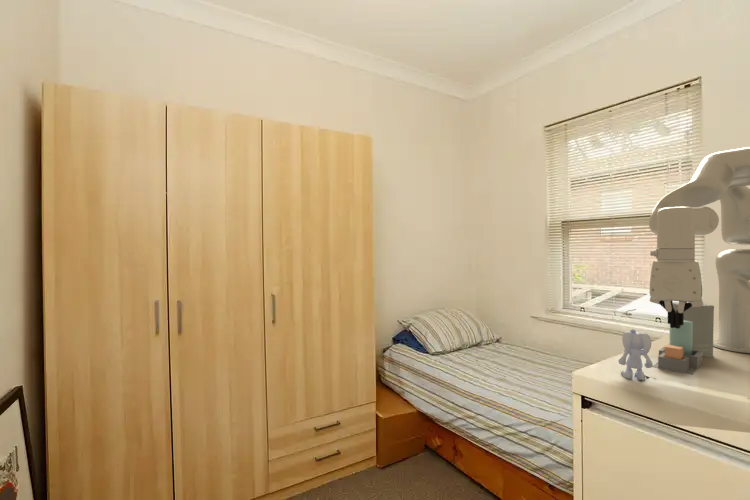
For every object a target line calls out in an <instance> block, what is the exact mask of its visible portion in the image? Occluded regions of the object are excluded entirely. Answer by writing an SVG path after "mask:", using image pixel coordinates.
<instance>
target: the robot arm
mask: <svg viewBox="0 0 750 500" xmlns="http://www.w3.org/2000/svg"><path fill="white" fill-rule="evenodd" d="M749 186H750V146H747V147H741V148H736V149H735V148H734V149H729V150H723V151H717V152H714V153H711V154H709V155H706V156H705V157H704V158H703V159H702V160H701V162H700V163H699V166H698V167H697V169H696V171H695V172H694V174H693V175H692V178H691V179H690V181H689V182H687V183H684V184H683V185H681V186H679V187H677V188H676V189H674V190H672V191H671V192H669V193H667V194H666V195H664V196H662V198H660V199H659V201H658V202H657V203H656V205H655V207H654V208H653V209H652V212H651V214H650V216H649V221H648V225H649V226H648V227H649V229H650V232H651V233H653V234H654V235H655V236H656V250H651V251H650V256H651V257H655V258H656V260H653V261H652V264H651V270H650V278H649V279H650V281H649V296H650V298H649V301H650V303H654V304H657V305H660V306H661V307H662V308H663V309H664V310H665V311H666V312H667V325H668V324H669V328H670V327H671V328H674V327H675V328H677V329H679V328H680V327H681V325H683V324H684V311H686V310H687V309H689V308H690V307H700V306H702V305H703V303H704V300H703V298H702V297H703V283H702V273H701V268H700V263H699V261H697V260H696V258H695V257H696V256H695V255H696V253H695V252H696V249H695V246H696V244H695V242H696V241H695V237H696V236H705V235H709V234H711V233H713V232H714V231H715V230H716V229H717V228H718V225H719V222H720V223H721V224H720V226H721V229H720V231H721V237H722V240H723V241H724V242H725V243H727V244H729V245H737V246H738V245H739V246H750V188H749ZM717 201H719V202H720V218H719V215H718V213H717V212H716V211H715V210H714V209H713V208H711V207H709V206H706V205H709V204H712V203H715V202H717ZM719 219H720V220H719ZM715 268H716V273H717V278H718V340H713V348H714V347H715V348H718V349H721V350H725V351H731V352H736V353H742V354H743V353H744V354H750V248H734V249H733V248H732V249H726V250H723V251H721V252H718V254H717V256H716V258H715ZM673 302H679V304H678V309H677V310H676V311H675V309H674V306H673ZM687 302H688V303H687Z"/></svg>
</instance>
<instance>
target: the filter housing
mask: <svg viewBox="0 0 750 500" xmlns="http://www.w3.org/2000/svg"><path fill="white" fill-rule="evenodd" d="M665 346H666V345H664V346H663V347H661V348H660V349H659V350H658V356H657V357H658V359H657V362H656V363H655V364H653V366H652V367H651V368H655V369H659V370H665V371H670V372H675V373H680V374H685V375H690V376H693V375H694V373H695V372H696V370H698V369H699V367H701V365H702V364H703V356H702V355H703V351H697V350H692V355H687V354H683V359H682V360H680V359H674V358H669V357H665Z"/></svg>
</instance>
